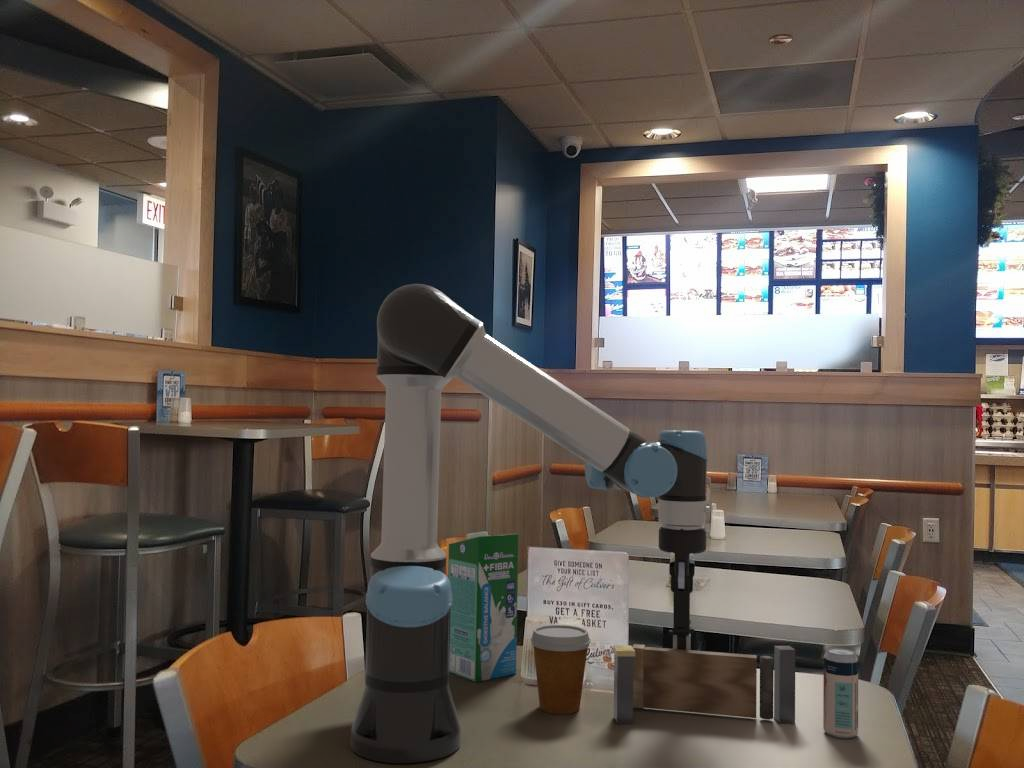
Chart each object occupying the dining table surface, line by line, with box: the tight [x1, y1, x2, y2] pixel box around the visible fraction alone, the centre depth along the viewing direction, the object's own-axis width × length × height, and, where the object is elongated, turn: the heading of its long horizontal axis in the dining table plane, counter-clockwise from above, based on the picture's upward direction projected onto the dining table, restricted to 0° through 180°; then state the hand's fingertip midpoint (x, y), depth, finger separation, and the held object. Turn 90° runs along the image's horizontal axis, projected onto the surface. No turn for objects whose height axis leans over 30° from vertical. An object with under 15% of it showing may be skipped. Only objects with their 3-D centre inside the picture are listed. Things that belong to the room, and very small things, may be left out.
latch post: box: [612, 644, 635, 725], centre depth 136 cm, size 3×3×11 cm
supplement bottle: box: [822, 647, 859, 740], centre depth 132 cm, size 5×5×12 cm
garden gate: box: [632, 643, 774, 720], centre depth 140 cm, size 21×2×9 cm, turn 76°
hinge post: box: [773, 645, 796, 724], centre depth 138 cm, size 2×2×11 cm
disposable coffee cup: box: [530, 624, 592, 715], centre depth 142 cm, size 10×10×12 cm
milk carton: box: [447, 531, 520, 683], centre depth 162 cm, size 9×9×25 cm
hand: (681, 675), depth 144 cm, fingers closed
